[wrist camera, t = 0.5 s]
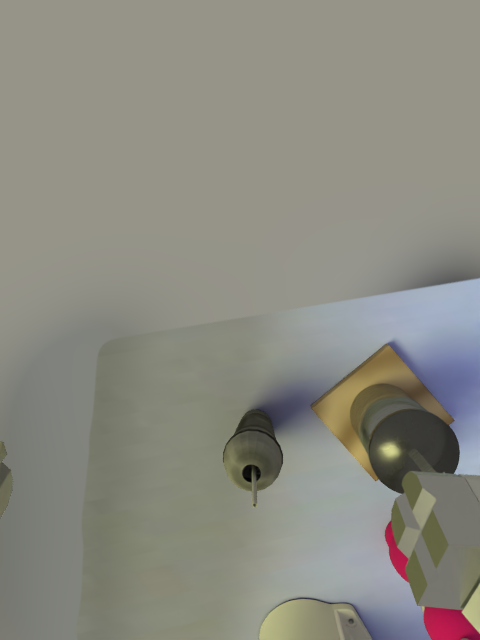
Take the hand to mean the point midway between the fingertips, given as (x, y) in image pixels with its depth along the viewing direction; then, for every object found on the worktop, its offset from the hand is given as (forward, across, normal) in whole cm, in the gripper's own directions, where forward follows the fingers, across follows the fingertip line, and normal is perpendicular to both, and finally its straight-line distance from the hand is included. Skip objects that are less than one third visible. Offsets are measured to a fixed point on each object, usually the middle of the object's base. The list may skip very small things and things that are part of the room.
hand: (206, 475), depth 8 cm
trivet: (+41, +23, -31) cm, 56 cm away
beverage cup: (+41, +6, -35) cm, 54 cm away
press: (+39, +24, -31) cm, 55 cm away
